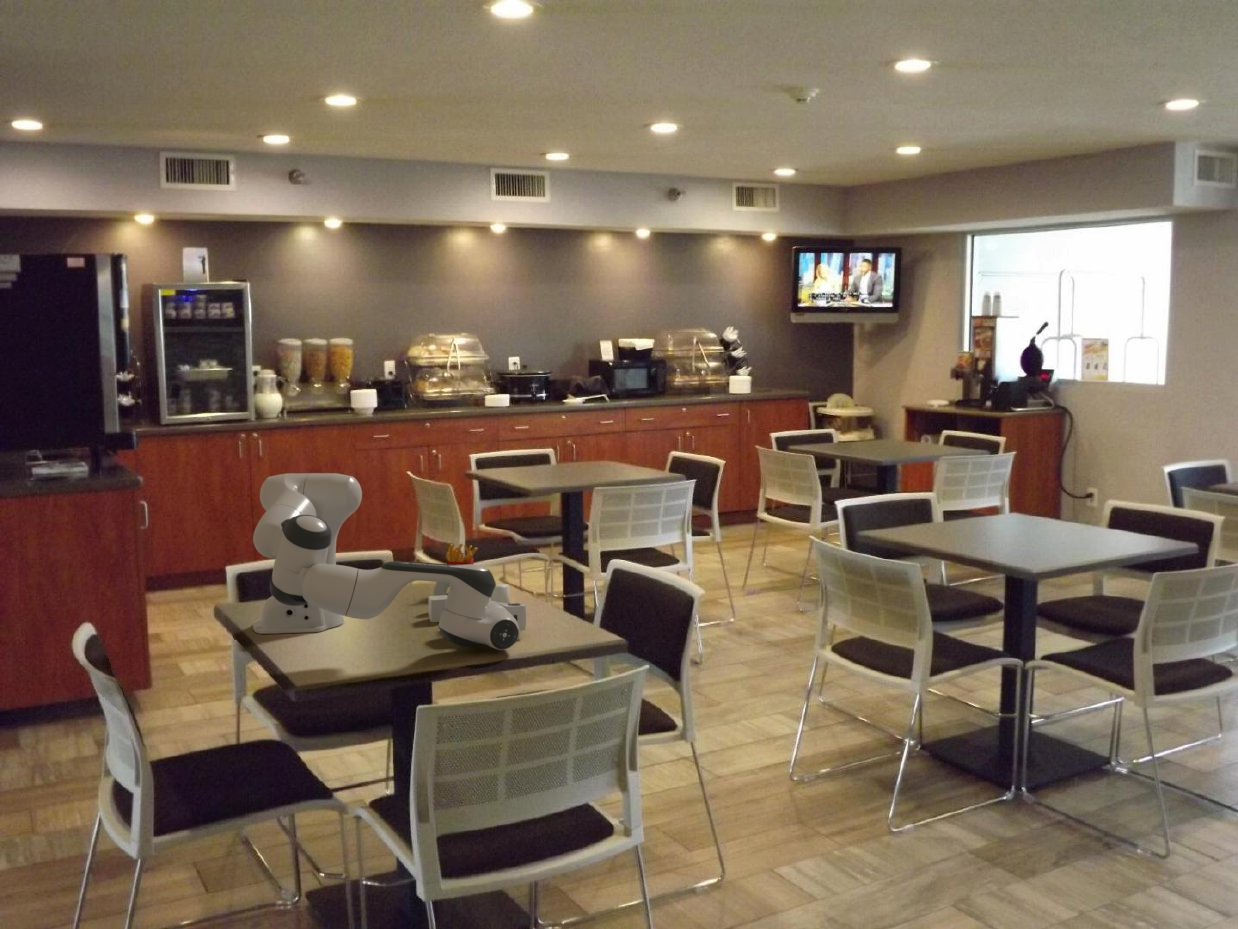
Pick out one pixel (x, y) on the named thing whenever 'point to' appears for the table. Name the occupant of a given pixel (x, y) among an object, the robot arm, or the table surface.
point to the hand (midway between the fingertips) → (479, 608)
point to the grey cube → (436, 607)
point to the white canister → (501, 593)
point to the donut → (441, 588)
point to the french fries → (455, 558)
